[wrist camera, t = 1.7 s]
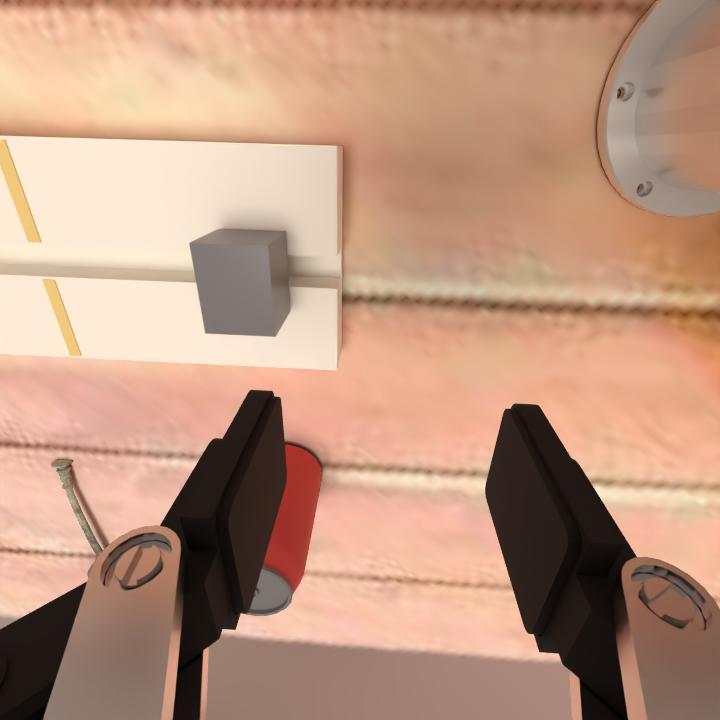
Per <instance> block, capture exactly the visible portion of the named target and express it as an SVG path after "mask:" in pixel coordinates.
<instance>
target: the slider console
mask: <svg viewBox="0 0 720 720" xmlns="http://www.w3.org/2000/svg"><path fill="white" fill-rule="evenodd" d="M342 227H343V146H329V145H295V144H262V143H228V142H195V141H161V140H128V139H94V138H61V137H28V136H0V354H15V355H36V356H56V357H76V358H97V359H117V360H137V361H158V362H178V363H198V364H219V365H239V366H259V367H280V368H300V369H320V370H337V369H338V365H339V360H340V355H341V350H342ZM217 229H237V230H264V231H286V244H287V260H288V276H289V293H290V309H291V311H290V313H289V315H288V316H287V318H286V320H285V322H284V323H283V325H282V327H281V329H280V330H279V332H278V334H277V335H276V337H268V336H247V335H225V334H205V329H204V324H203V318H202V312H201V307H200V301H199V295H198V290H197V284H196V279H195V273H194V267H193V262H192V256H191V250H190V245H189V243H190V242H192V241H194V240H196V239H198V238H200V237H202V236H204V235H207V234H209V233H211V232H213V231H215V230H217Z"/></svg>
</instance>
